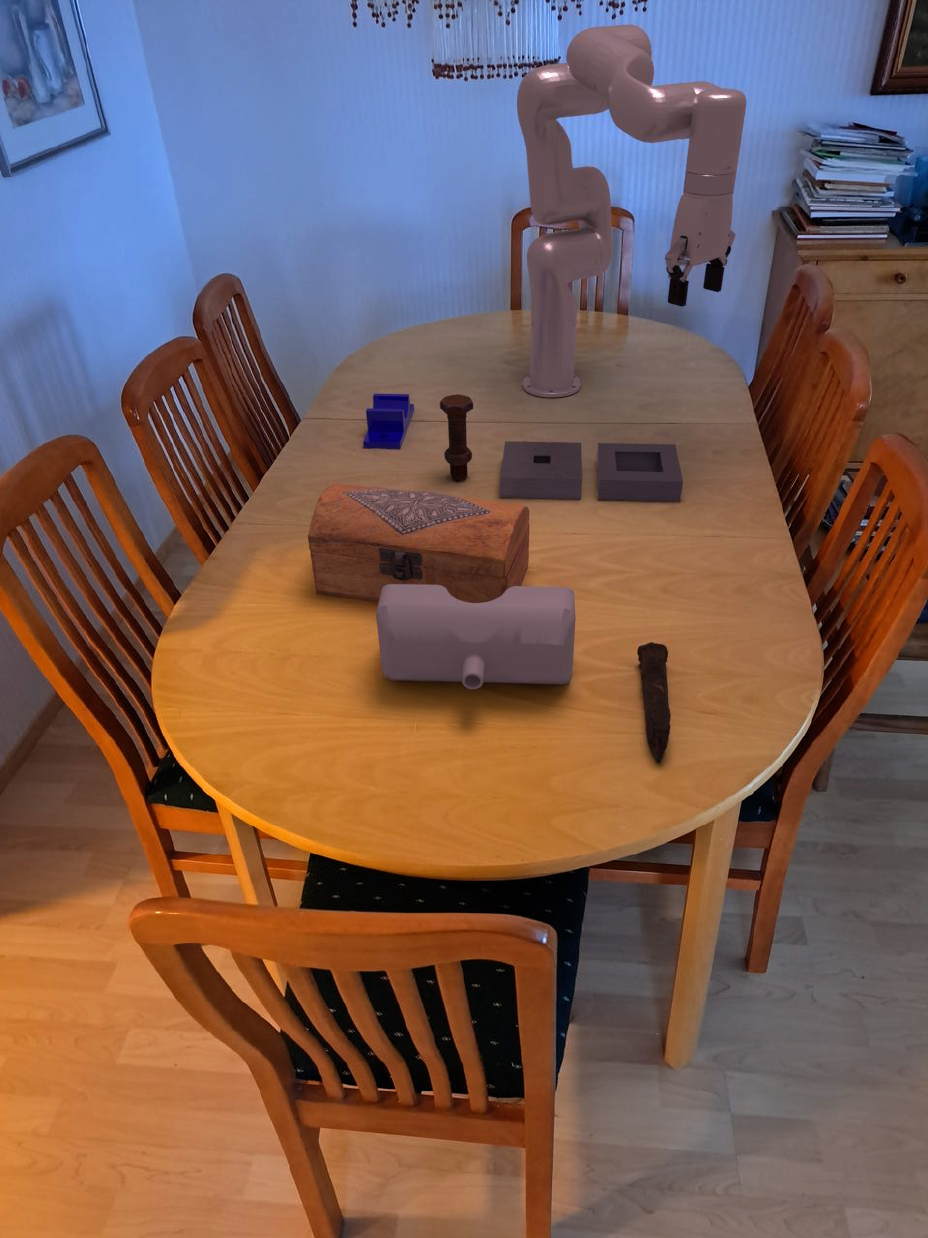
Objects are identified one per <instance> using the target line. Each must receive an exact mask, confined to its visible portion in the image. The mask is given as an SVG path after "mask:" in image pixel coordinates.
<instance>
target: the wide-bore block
mask: <svg viewBox="0 0 928 1238" xmlns="http://www.w3.org/2000/svg"><path fill="white" fill-rule="evenodd" d="M596 449H597V450H596V451H597V452H596V461H595V462H596V464H595V465H596V482H597V484H596V485H597V501H611V502H612V501H613V502H615V501H617V502H618V501H619V502H651V503H653V502H655V503H656V502H658V503H660V502H661V503H663V502H664V503H681V500H682V499H681V498H682V489H683V483H684V481H683V480H684V479H683V475H682V471H681V465H680V460H679V456H678V450H677V446H676V444H675V443H670V444H669V443H667V444H666V443H662V444H661V443H628V442H627V443H626V442H625V443H624V442H623V443H619V442H617V443H616V442H597V448H596Z"/></svg>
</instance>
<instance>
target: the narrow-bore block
mask: <svg viewBox="0 0 928 1238" xmlns="http://www.w3.org/2000/svg"><path fill="white" fill-rule="evenodd" d="M582 458H583V457H582V442H571V441H569V442H568V441H567V442H566V441H558V442H557V441H554V442H553V441H515V440H513V441H508V440H505V441H504V447H503V455H502V462H501V469H500V477H499V479H500V480H499V482H500V483H499V486H500V487H499V488H500V489H499V492H500V494H499V495H500V497H499V498H500V499H535V500H540V499H541V500H570V501H571V500H572V501H573V500H575V501H577V500H578V501H582V500H581V499H582V485H583V484H582V482H583V474H582V472H583V471H582V470H583V469H582V466H583V465H582V464H583V462H582Z"/></svg>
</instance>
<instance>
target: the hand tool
mask: <svg viewBox="0 0 928 1238" xmlns="http://www.w3.org/2000/svg"><path fill="white" fill-rule="evenodd" d="M636 655H637V656H638V657H637V661H638V662H639V668H640V670H641V671H640V680H641V681H642V694H643V704H644V706H643V707H644V716H645V717H644V718H645V735H646V739H647V744H648V747H649V748H650V752H651V755H652V757H653V758H654V759H655V762H656V763H657V764H660V763H661V762H662V760H663V758H664V755H665V751H666V749H667V748H668V743H669V736H670V733H671V723H670V722H671V715H672V714H671V710H670V706H669V705H670V704H669V686H668V672H667V662H668V657H669V650H668V646H667V645H665V644H662V643H657V642H653V641H650V642H648V643H645V644H641V645H639V646H638V648H637V654H636Z"/></svg>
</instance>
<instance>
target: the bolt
mask: <svg viewBox="0 0 928 1238" xmlns="http://www.w3.org/2000/svg"><path fill="white" fill-rule="evenodd" d="M439 409H440V410H441V411H442V412H443V413H445V415H446V416H447V417H446V418H447V424H448V430H447V431H448V448H447V449H445V451H444V459H445V461H446V463H447V464H449V475H450V476H451V478H452V480H453V481H457V480H458V481H459V482H461V481H462V482H463V481H464V480H466V479H467V477H468V473H469V471H468V464H469V463H470V462H471V460H473V452H472V450H471V449H470V448H469V447H468V442H467V413H469V412H470V411H472V410H473V409H474V402H473V400H472V399H471V398H470V397H469V396H467V395H464V394H459V393H457V394H450V395H447V396H444V397H443V398H441V400H440V401H439Z"/></svg>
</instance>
